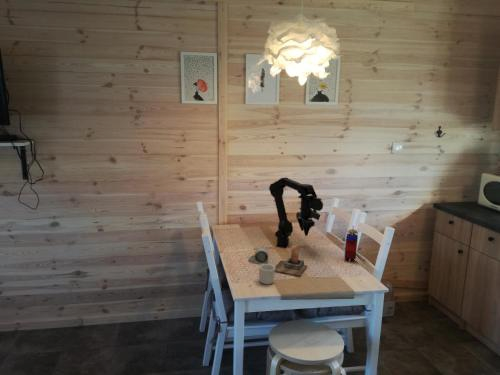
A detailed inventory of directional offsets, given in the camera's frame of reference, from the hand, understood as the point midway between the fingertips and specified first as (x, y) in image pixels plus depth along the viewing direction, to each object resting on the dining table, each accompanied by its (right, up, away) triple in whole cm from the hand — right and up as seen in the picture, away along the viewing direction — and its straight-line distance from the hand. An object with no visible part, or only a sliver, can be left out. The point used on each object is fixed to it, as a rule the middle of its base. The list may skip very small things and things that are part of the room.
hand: (304, 233), depth 228 cm
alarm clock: (+25, -15, -1) cm, 29 cm away
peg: (-8, -16, -17) cm, 24 cm away
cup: (-23, -20, -33) cm, 45 cm away
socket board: (-10, -17, -18) cm, 27 cm away
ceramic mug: (-26, -15, -9) cm, 32 cm away
